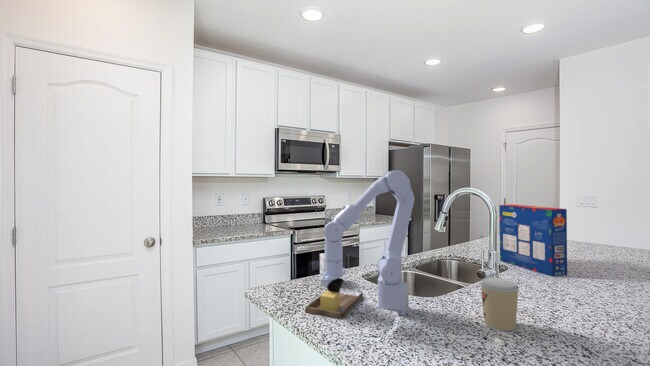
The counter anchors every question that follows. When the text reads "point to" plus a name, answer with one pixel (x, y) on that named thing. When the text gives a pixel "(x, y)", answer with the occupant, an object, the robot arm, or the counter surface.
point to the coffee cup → (499, 303)
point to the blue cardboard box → (534, 238)
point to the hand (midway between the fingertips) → (334, 301)
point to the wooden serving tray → (345, 301)
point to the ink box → (322, 264)
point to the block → (330, 300)
